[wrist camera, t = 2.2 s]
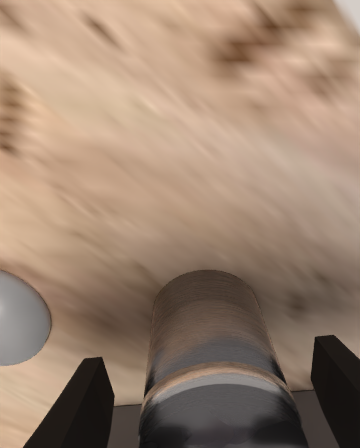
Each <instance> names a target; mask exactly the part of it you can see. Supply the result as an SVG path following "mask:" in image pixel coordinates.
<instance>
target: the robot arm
mask: <svg viewBox="0 0 360 448" xmlns="http://www.w3.org/2000/svg"><path fill="white" fill-rule="evenodd" d="M311 381H312V384H313V387H314V390H315V392H316V395H317V398H318V401H319V404H320V406H321V409H322V412H323V414H324V416H325V418H326V420H327V422H328V424H329V427H330V429H331V431H332V433H333V435H334V437H335V439H336V441H337V443H338V445H339V448H360V359H359V358H358V357H357V356H356V355H355V354H353V353H352V352H351V351H350V350H349V349H348V348H347V347H346V346H345V345H344V344H343V343H342V342H341V341H340V340H339V339H338V338H337V337H336V336H334V335H328V336H317V337H315V341H314V351H313V361H312V370H311ZM114 397H115V396H114V393H113V390H112V386H111V383H110V380H109V377H108V374H107V371H106V368H105V365H104V362H103V359H102V357H96V358H85V359H84V360H83V361H82V362H81V364H80V365H79V367H78V368H77V370H76V372H75V373H74V375H73V376H72V378H71V379H70V381H69V382H68V384H67V385H66V387H65V388H64V390H63V391H62V393H61V394H60V396H59V397H58V399H57V400H56V402H55V403H54V405H53V406H52V408H51V409H50V411H49V412H48V413H47V415H46V416H45V418H44V419H43V421H42V422H41V423H40V425H39V426H38V428H37V429H36V430H35V432H34V433H33V434H32V436H31V437H30V438H29V440H28V441H27V442H26V444H25V445H24V446H23V448H107V446H108V441H109V436H110V431H111V424H112V416H113V407H114Z"/></svg>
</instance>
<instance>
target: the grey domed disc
mask: <svg viewBox="0 0 360 448" xmlns="http://www.w3.org/2000/svg"><path fill="white" fill-rule="evenodd" d="M50 328H51V319H50V314H49V311H48V308H47V306H46V304H45V302H44V301H43V299H42V298H41V297H40V295H39V294H38V293H37V292H36V291H35V290H34V289H33V288H32V287H31V286H29V285H28V284H27V283H25V282H24V281H23V280H21V279H19V278H18V277H16V276H14V275H12V274H10V273H7V272H5V271H2V270H0V366H8V365H14V364H18V363H22V362H24V361H27V360H28V359H30V358H32V357H33V356H35V355H36V354H37V353H38V352H39V351H40V350H41V348H42V347H43V345H44V343H45V341H46V339H47V337H48V335H49V333H50Z"/></svg>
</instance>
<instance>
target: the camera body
mask: <svg viewBox="0 0 360 448" xmlns="http://www.w3.org/2000/svg"><path fill="white" fill-rule="evenodd" d="M291 393H292V395H293V398H294V401H295V403H296V406H297V409H298V412H299V414H300V417H301V421H302V428H303V431H304V434H305V437H306V439H307V442H308V446H309V448H339V445H338V443H337V441H336V439H335V437H334V435H333V433H332V431H331V429H330V427H329V424H328V422H327V420H326V418H325V416H324V414H323V412H322V409H321V406H320V404H319V401H318V398H317V395H316V392H315V390H313V391H301V392H291ZM141 407H142V405H132V406H120V407H113V416H112V424H111V431H110V436H109V441H108V446H107V448H139V438H138V432H139V422H140V413H141Z"/></svg>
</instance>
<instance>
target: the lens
mask: <svg viewBox="0 0 360 448" xmlns="http://www.w3.org/2000/svg"><path fill="white" fill-rule="evenodd" d="M138 438H139V448H309V446H308V442H307V439H306V437H305V434H304V431H303V428H302V421H301V417H300V414H299V412H298V409H297V406H296V403H295V401H294V398H293V395H292V393H291V391H290V390H289V388H288V387H287V384H286V381H285V378H284V375H283V373H282V370H281V367H280V364H279V362H278V359H277V356H276V353H275V350H274V348H273V345H272V342H271V339H270V337H269V334H268V331H267V328H266V325H265V323H264V320H263V317H262V314H261V312H260V309H259V306H258V303H257V300H256V298H255V295H254V293H253V292H252V290H251V289H250V287H249V286H248V285H247V284H246V283H245V282H243V281H242V280H241V279H239V278H237V277H236V276H234V275H231V274H229V273H226V272H222V271H217V270H198V271H193V272H189V273H186V274H183V275H181V276H179V277H177V278H175V279H173V280H172V281H170V282H169V283H168V284H167V285H166V286H165V287H163V289H162V290H161V291H160V292H159V294H158V296H157V298H156V300H155V303H154V307H153V316H152V326H151V335H150V345H149V354H148V364H147V373H146V383H145V392H144V401H143V403H142V407H141V413H140V422H139V432H138Z"/></svg>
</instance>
